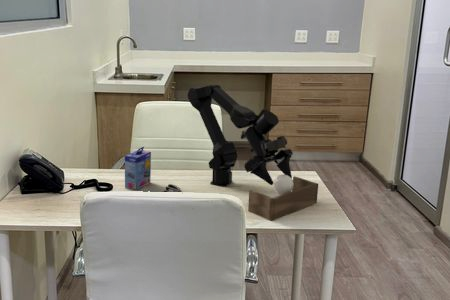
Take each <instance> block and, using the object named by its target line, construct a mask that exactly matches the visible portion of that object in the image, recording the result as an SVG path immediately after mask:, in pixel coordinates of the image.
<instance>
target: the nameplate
mask: <svg viewBox="0 0 450 300" xmlns="http://www.w3.org/2000/svg"><path fill="white" fill-rule="evenodd" d="M167 185H168V186H165V190H163V191H162V192H182V191H181V188H180V187H179V186H178V185H175V184H172V183H169V184H167Z"/></svg>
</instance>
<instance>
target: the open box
mask: <svg viewBox="0 0 450 300" xmlns="http://www.w3.org/2000/svg"><path fill="white" fill-rule="evenodd" d="M292 180H293V184H294V185H293V189H292V190H291V192H288V193H285V194H283V195H280V196H278V195H277V196H274V197H271V196H268V195H266V194H263V193H260V192H258V191H256V190H252V189H250V190H249V191H248V207H247V209H248V210H247V212H249V213H252V214H254V215H257V216H259V217H261V218H263V219H266V220H268V221H271V222H272V221H275V220H277V219H280V218H283V217H286V216H288V215H291V214H293V213H296V212H298V211H301V210H304V209H306V208H308V207H311V206H315V205H316V204H317V203H318V192H319V183H316V182H314V181H311V180H308V179H304V178H302V177H299V176H296V175H295V176H292Z"/></svg>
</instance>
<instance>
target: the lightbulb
mask: <svg viewBox="0 0 450 300" xmlns="http://www.w3.org/2000/svg"><path fill="white" fill-rule="evenodd" d="M293 185H294V184H293V177H292V178H291V177H289V176H288V175H285V174H279V175H278V176H276V178H275V179H274V181H273V187H274V190H275V191H276V193H277V196H280V195H283V194H285V193H288V192H291V191H292V189H293Z"/></svg>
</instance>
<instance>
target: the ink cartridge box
mask: <svg viewBox="0 0 450 300" xmlns="http://www.w3.org/2000/svg"><path fill="white" fill-rule="evenodd" d="M144 148H145V146H141V147H140V148H138V149H137V150H135V151H133V152H130V153H128V154H126V155H124V188H127V189H131V190H134V191H137V190H139V189H141V188H143V187H145V186H147V185H148V184H150V183H151V170H152V169H151V168H152V165H151V163H152V152H151V151H148V150H144Z"/></svg>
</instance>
